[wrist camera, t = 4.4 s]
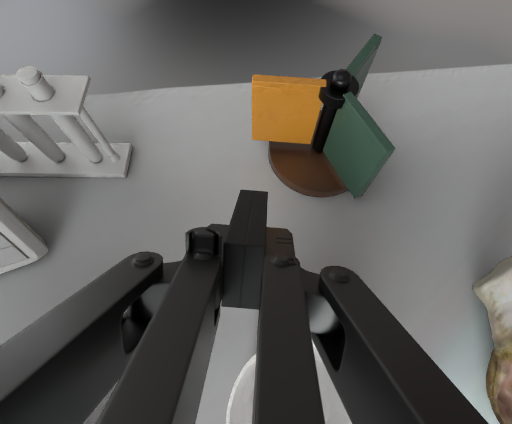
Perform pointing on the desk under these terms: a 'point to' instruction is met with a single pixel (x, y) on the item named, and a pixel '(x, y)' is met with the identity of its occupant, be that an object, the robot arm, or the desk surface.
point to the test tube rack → (61, 111)
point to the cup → (244, 394)
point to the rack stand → (305, 168)
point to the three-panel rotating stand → (325, 118)
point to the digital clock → (17, 240)
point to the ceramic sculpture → (499, 336)
